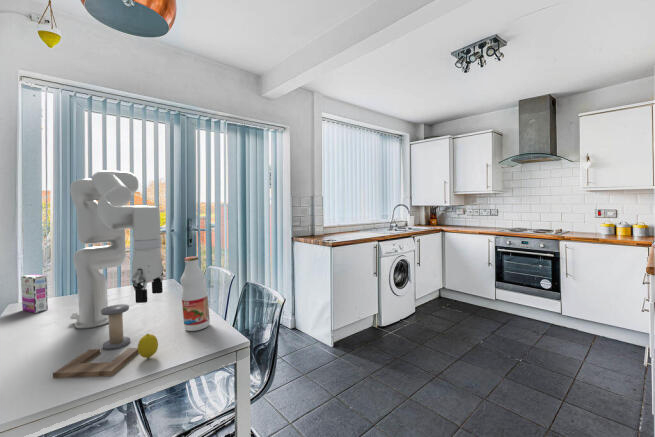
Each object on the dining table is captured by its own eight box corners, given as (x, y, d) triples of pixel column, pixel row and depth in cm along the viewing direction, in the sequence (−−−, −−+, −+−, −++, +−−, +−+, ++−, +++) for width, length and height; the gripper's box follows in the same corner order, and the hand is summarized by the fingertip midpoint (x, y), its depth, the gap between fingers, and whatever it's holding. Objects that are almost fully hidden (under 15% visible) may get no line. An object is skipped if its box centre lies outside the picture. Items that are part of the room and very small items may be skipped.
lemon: (143, 354, 98) (143, 330, 98) (161, 353, 99) (160, 329, 98) (134, 363, 93) (133, 338, 92) (153, 362, 93) (152, 337, 93)
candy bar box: (49, 310, 141) (47, 275, 140) (35, 313, 136) (33, 277, 135) (35, 307, 145) (33, 273, 144) (21, 310, 140) (19, 275, 139)
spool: (96, 350, 101) (95, 312, 100) (112, 339, 109) (110, 304, 108) (121, 349, 102) (119, 312, 101) (135, 339, 110) (133, 304, 109)
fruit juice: (215, 323, 122) (209, 255, 121) (196, 332, 113) (190, 259, 112) (198, 320, 126) (192, 254, 124) (179, 330, 117) (172, 259, 116)
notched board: (53, 378, 85) (52, 373, 85) (89, 353, 99) (89, 349, 99) (111, 376, 86) (111, 370, 86) (139, 351, 100) (139, 347, 100)
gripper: (149, 241, 104) (151, 290, 105) (118, 249, 87) (121, 307, 88) (171, 241, 105) (173, 289, 106) (145, 248, 87) (147, 306, 88)
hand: (149, 297), depth 97 cm, fingers open, 9 cm apart
